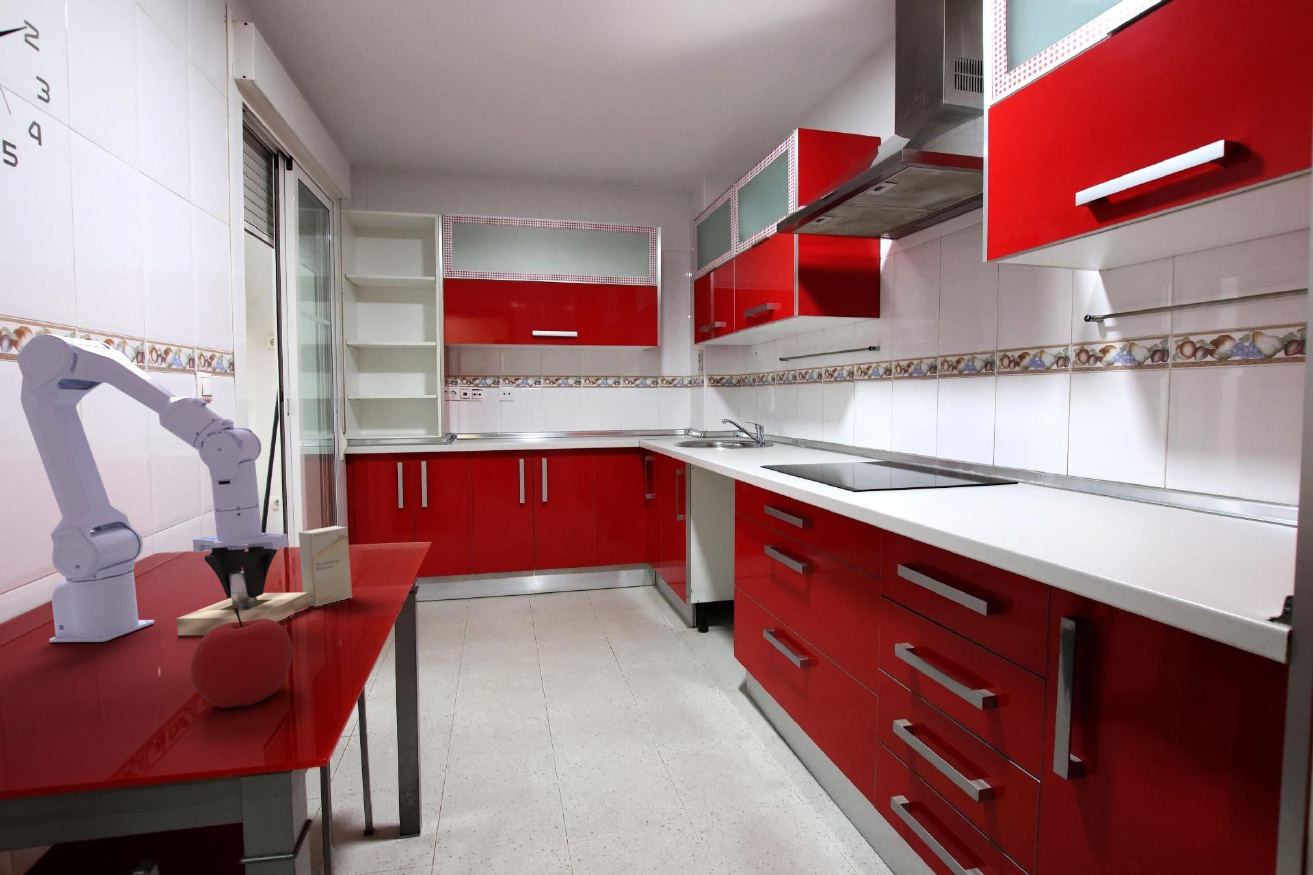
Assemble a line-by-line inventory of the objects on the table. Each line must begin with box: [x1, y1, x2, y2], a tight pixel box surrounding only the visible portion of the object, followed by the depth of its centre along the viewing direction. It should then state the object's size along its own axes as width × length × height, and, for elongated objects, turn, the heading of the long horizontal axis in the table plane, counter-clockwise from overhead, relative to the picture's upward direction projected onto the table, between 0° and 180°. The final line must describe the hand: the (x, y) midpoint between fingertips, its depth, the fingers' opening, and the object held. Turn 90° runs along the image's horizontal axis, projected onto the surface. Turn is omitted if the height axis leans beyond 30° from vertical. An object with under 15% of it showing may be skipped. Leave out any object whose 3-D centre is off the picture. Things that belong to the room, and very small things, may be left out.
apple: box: [190, 608, 294, 709], centre depth 68 cm, size 9×9×10 cm
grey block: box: [229, 568, 258, 610], centre depth 96 cm, size 3×3×6 cm
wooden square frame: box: [176, 591, 311, 636], centre depth 96 cm, size 12×12×2 cm
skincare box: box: [298, 525, 353, 607], centre depth 104 cm, size 6×4×12 cm
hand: (245, 596), depth 96 cm, fingers closed on grey block, 3 cm apart
